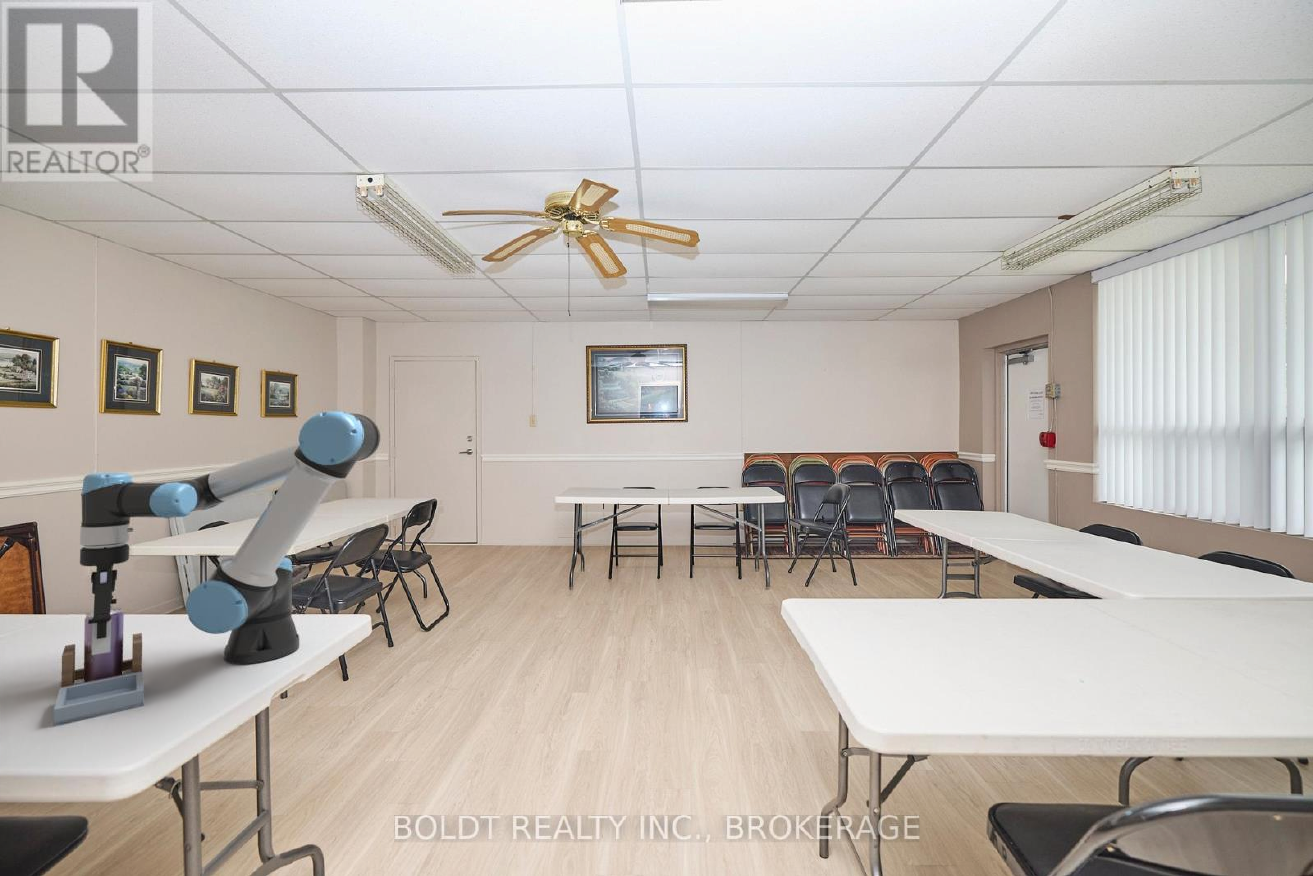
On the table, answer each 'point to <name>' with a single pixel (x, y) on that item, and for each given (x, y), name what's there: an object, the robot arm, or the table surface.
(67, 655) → the bracket
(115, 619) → the beverage can
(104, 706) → the tray
